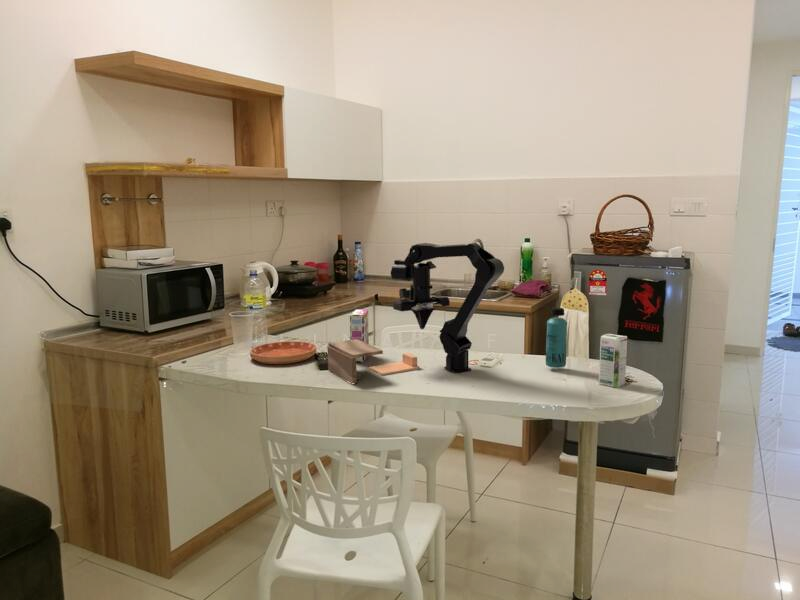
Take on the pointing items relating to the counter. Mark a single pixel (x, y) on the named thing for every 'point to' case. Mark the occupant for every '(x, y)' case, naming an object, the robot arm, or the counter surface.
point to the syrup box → (612, 360)
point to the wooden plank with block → (397, 365)
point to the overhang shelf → (348, 358)
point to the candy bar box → (359, 328)
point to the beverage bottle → (556, 340)
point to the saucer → (283, 352)
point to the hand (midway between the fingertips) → (422, 329)
